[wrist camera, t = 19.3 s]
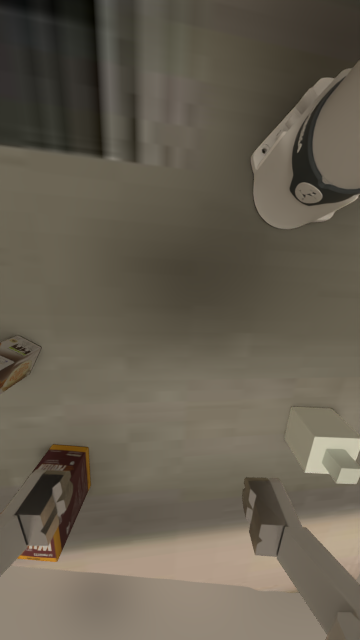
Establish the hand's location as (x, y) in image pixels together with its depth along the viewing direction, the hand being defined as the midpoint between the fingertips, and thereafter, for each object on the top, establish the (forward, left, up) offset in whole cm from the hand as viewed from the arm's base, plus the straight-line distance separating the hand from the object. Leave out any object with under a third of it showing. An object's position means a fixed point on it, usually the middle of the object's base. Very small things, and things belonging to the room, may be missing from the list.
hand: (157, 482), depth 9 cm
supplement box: (+56, -1, -34) cm, 65 cm away
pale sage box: (+6, +45, -34) cm, 56 cm away
